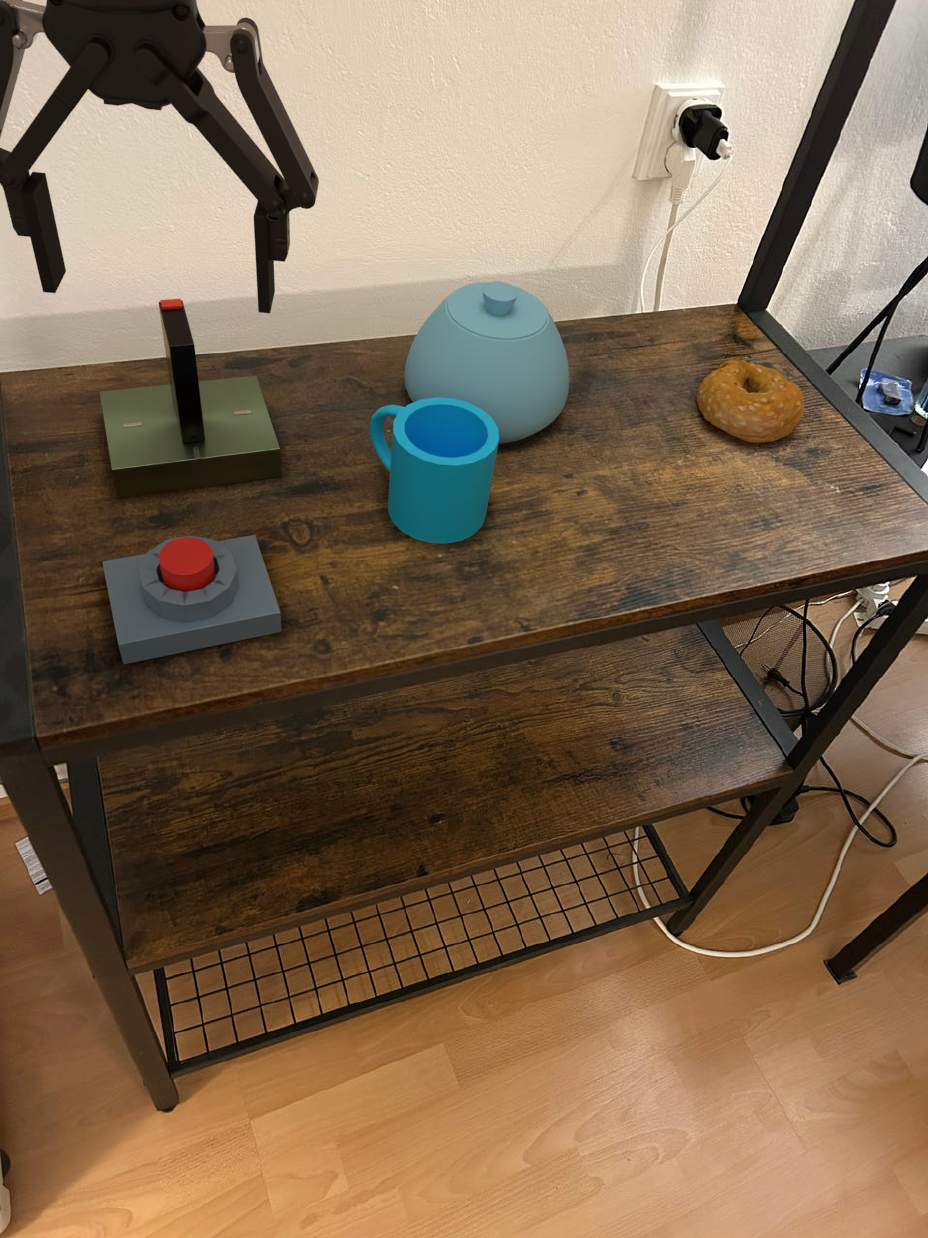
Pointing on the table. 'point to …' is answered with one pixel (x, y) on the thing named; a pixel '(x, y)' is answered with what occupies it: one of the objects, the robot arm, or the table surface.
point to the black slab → (182, 370)
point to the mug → (437, 467)
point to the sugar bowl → (492, 357)
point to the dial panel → (163, 463)
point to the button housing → (191, 602)
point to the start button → (187, 564)
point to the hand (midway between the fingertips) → (161, 292)
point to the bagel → (750, 401)
